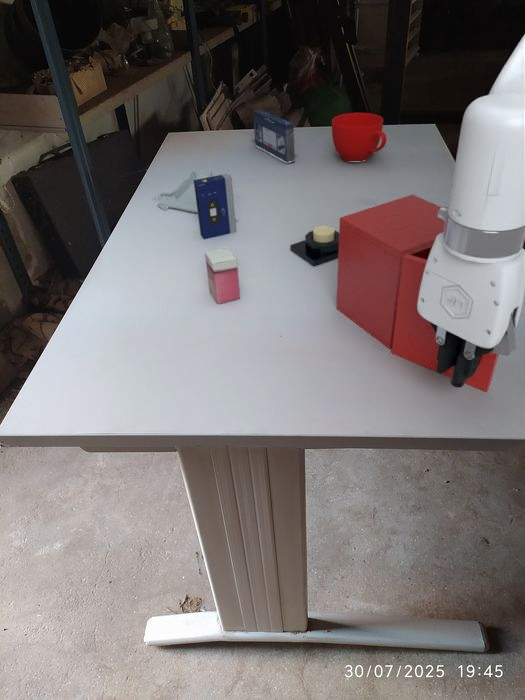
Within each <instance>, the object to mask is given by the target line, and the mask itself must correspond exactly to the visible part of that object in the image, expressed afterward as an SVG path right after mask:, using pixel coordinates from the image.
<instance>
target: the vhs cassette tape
mask: <svg viewBox="0 0 525 700" xmlns="http://www.w3.org/2000/svg"><path fill="white" fill-rule="evenodd" d="M252 117H253V133H254V145H257V146H259V147H261V148H263V149H265V150H266V151H268V152H270V153H272V154H274V155H275V156H277V157H279V158H281V159H283V160H284V161H286V162H289V161H293V160H296V159H295V133H294V131H295V125H294V123H292V122H291V121H288V120H287V119H284V118H281V117H279V116H276V115H274V114H272V113H270V112H267V111H265V110H262V109H254V110H252Z"/></svg>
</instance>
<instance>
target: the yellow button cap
mask: <svg viewBox="0 0 525 700" xmlns="http://www.w3.org/2000/svg"><path fill="white" fill-rule="evenodd" d="M334 230H335V228H334V227H332V226H329V225H318V226H316V227H314V228H313V230H312V231H313V240H314V241H316V242H321V243H325V242H331V241H333V240H334Z"/></svg>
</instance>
